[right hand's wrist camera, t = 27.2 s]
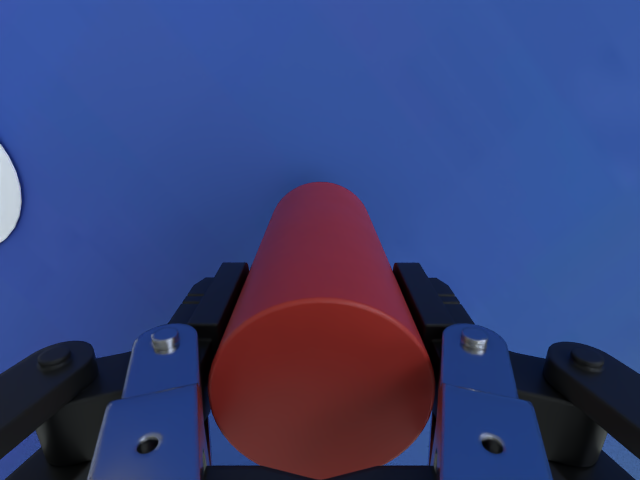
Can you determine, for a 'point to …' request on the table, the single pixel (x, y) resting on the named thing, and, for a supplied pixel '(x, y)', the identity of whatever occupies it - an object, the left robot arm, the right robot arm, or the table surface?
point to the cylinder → (321, 346)
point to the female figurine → (8, 196)
